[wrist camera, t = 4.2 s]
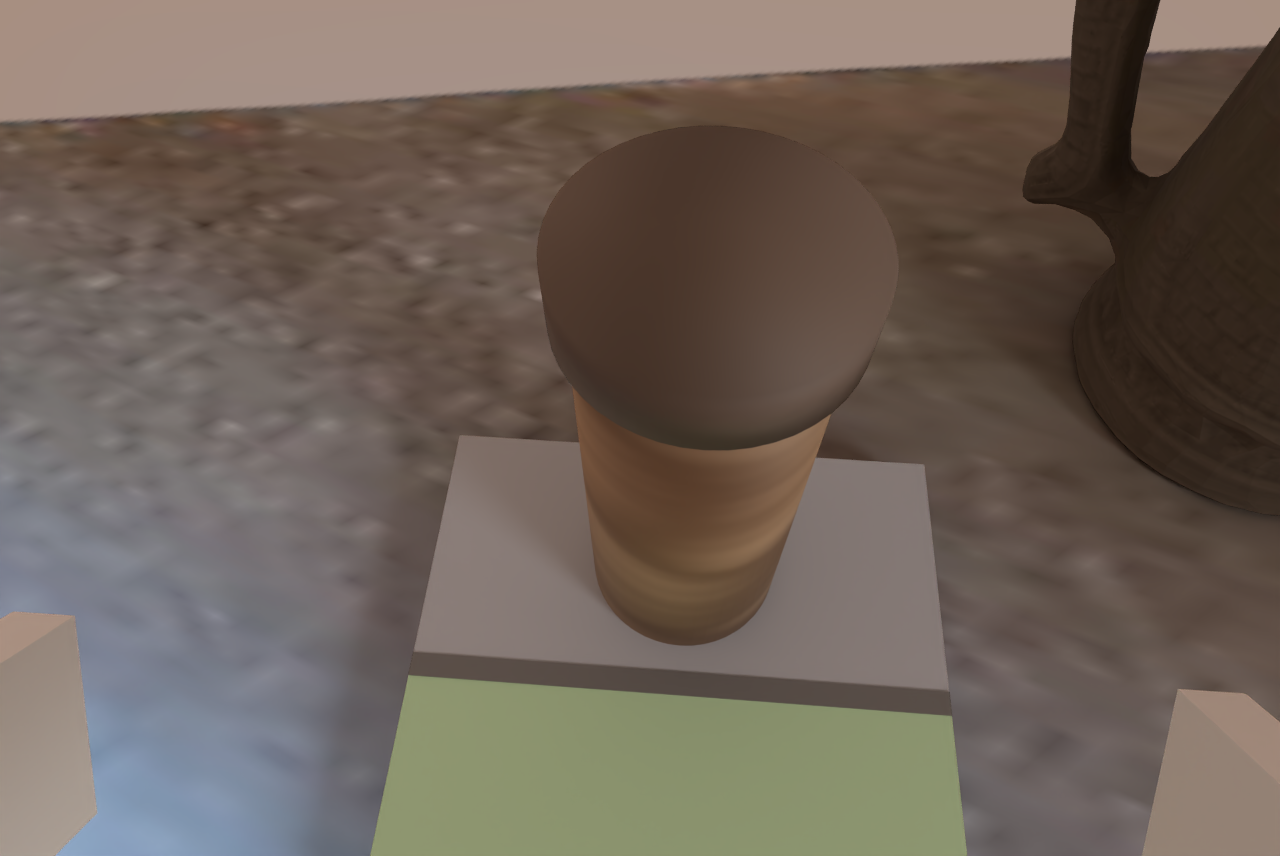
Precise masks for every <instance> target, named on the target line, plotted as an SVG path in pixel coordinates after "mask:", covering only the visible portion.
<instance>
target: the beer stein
mask: <svg viewBox="0 0 1280 856" xmlns="http://www.w3.org/2000/svg"><path fill="white" fill-rule="evenodd" d="M1159 3H1160V0H1076V6H1075V15H1074V23H1073V35H1072V51H1071V78H1070V100H1069V109H1068V118H1067V125H1066V128H1065V131H1064V134H1063V136H1062V138H1061V139H1060V140H1059V141H1058V142H1057V143H1056V144H1054V145H1052V146H1050V147H1048V148H1046V149H1044V150H1042V151H1040V152H1038V153H1037V154H1036V155H1035V156H1034V157H1032V159H1031V161H1030V163H1029V165H1028V167H1027V171H1026V175H1025V180H1024V185H1023V197H1024V198H1025V199H1026V200H1028V201H1029V202H1032V203H1034V204H1057V205H1060V206H1064V207H1067V208H1070V209H1074V210H1076V211H1078V212H1080V213H1082V214H1084V215H1086V216H1088V217H1090V218H1092V219H1093V220H1094V222H1095V223H1096V224H1097V225H1098V226H1099V227H1100V228H1101V230H1102V231H1103V232H1104V233H1105V234H1106V235H1107V236H1108V237H1109V239H1110V242H1111V245H1112V248H1113V251H1114V253H1115V264H1114V265H1112V266H1111V267H1110V268H1109V269H1108V270H1107V271H1106V272H1105V273H1104V274H1103V275H1102V276H1101V277H1100V278H1099V279H1098V280H1097V281H1096V282H1095V283H1094V285H1093V286H1092V287H1091V289H1090V290H1089V292H1088V293H1087V295H1086V296H1085V298H1084V299H1083V301H1082V304H1081V307H1080V310H1079V312H1078V315H1077V318H1076V321H1075V323H1074V333H1073V346H1074V352H1075V358H1076V364H1077V370H1078V375H1079V379H1080V382H1081V385H1082V387H1083V389H1084V390H1085V392H1086V394H1087V396H1088V398H1089V399H1090V401H1091V403H1092V405H1093V407H1094V408H1095V410H1096V411H1097V412H1098V414H1099V415H1100V416H1101V418H1102V419H1103V420H1104V421H1105V423H1106V424H1107V425H1108V427H1109V428H1110V429H1111V430H1112V432H1113V433H1114V434H1115V436H1116V437H1117V438H1118V439H1119V440H1120V441H1121V442H1122V443H1123V444H1124V445H1125V446H1126V447H1128V448H1129V449H1130V450H1131V451H1132V452H1133V453H1134V454H1135V455H1136V456H1137V457H1138V458H1139V459H1141V460H1142V461H1144V462H1145V463H1146V464H1148V465H1149V466H1151V467H1152V468H1153V469H1155V470H1156V471H1158V472H1159V473H1160V474H1162V475H1164V476H1166V477H1168V478H1170V479H1171V480H1173V481H1175V482H1177V483H1179V484H1181V485H1183V486H1185V487H1187V488H1189V489H1191V490H1193V491H1195V492H1197V493H1199V494H1202V495H1204V496H1206V497H1209V498H1211V499H1213V500H1216V501H1218V502H1220V503H1223V504H1226V505H1230V506H1234V507H1238V508H1242V509H1246V510H1249V511H1253V512H1257V513H1261V514H1270V515H1279V516H1280V28H1279V29H1278V31H1277V32H1276V34H1275V35H1274V37H1273V38H1272V39H1271V41H1270V42H1269V44H1268V45H1267V46H1266V48H1265V49H1264V51H1263V52H1262V53H1261V55H1260V56H1259V57H1258V59H1257V60H1256V62H1255V63H1254V64H1253V66H1252V67H1251V68H1250V70H1249V71H1248V72H1247V74H1246V75H1245V76H1244V78H1243V79H1242V80H1241V82H1240V83H1239V84H1238V86H1237V87H1236V88H1235V90H1234V91H1233V92H1232V94H1231V95H1230V97H1229V98H1228V99H1227V101H1226V102H1225V103H1224V105H1223V106H1222V107H1221V109H1220V110H1219V111H1218V113H1217V114H1216V116H1215V117H1214V118H1213V120H1212V121H1211V122H1210V124H1209V125H1208V127H1207V128H1206V129H1205V130H1204V132H1203V133H1202V134H1201V135H1200V136H1199V137H1198V139H1197V140H1196V141H1195V142H1194V143H1193V144H1192V146H1191V147H1190V148H1189V149H1188V150H1187V151H1186V152H1185V154H1184V155H1183V156H1182V157H1181V159H1180V160H1179V162H1178V164H1177V165H1176V166H1175V167H1174V168H1173V169H1172V170H1171V171H1170V172H1168V173H1166V174H1164V175H1162V176H1160V177H1149V176H1147V175H1145V174H1143V173H1142V172H1140V171H1138V169H1137V168H1136V166H1135V164H1134V163H1133V161H1132V159H1131V127H1132V122H1133V117H1134V111H1135V105H1136V99H1137V93H1138V87H1139V82H1140V77H1141V71H1142V66H1143V60H1144V56H1145V54H1146V52H1147V49H1148V47H1149V43H1150V37H1151V32H1152V29H1153V25H1154V22H1155V18H1156V14H1157V10H1158V6H1159Z"/></svg>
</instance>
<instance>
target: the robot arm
mask: <svg viewBox="0 0 1280 856" xmlns="http://www.w3.org/2000/svg"><path fill="white" fill-rule="evenodd" d="M96 814H97V807H96V798H95V790H94V781H93V772H92V763H91V755H90V746H89V737H88V728H87V720H86V711H85V702H84V693H83V685H82V676H81V667H80V659H79V650H78V641H77V632H76V624H75V616H71V615H56V614H40V613H25V612H12V613H10V614H8V615H7V616H5V617H3V618H1V619H0V856H55V855H56V854H57V853H58V852H59V851H60V850H61V849H62V848H63V847H64V846H65V845H66V844H67V843H68V842H69V841H70V840H71V839H72V838H73V837H74V836H75V835H76V834H77V833H78V832H79V831H80V830H81V829H82V828H83V827H84V826H85V825H86V824H87V823H88V822H89V821H90V820H91V819H92V818H93V817H94V816H95V815H96ZM1142 856H1280V722H1279V721H1278V720H1277V719H1275V718H1274V717H1273V716H1272V715H1271V714H1269V713H1268V712H1267V711H1266V710H1265V709H1263V708H1262V707H1261V706H1260V705H1259V704H1257V703H1256V702H1255V701H1254V700H1253V699H1251V698H1250V697H1249V696H1248V695H1247V694H1245V693H1230V692H1215V691H1200V690H1185V689H1178V691H1177V696H1176V700H1175V705H1174V710H1173V714H1172V719H1171V724H1170V728H1169V733H1168V738H1167V742H1166V747H1165V751H1164V756H1163V761H1162V765H1161V770H1160V775H1159V779H1158V784H1157V789H1156V793H1155V798H1154V802H1153V807H1152V812H1151V816H1150V821H1149V826H1148V830H1147V835H1146V840H1145V844H1144V849H1143V853H1142Z"/></svg>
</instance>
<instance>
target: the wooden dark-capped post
mask: <svg viewBox="0 0 1280 856" xmlns="http://www.w3.org/2000/svg"><path fill="white" fill-rule="evenodd" d="M537 265H538V275H539V281H540V288H541V294H542V301H543V307H544V314H545V320H546V327H547V333H548V337H549V341H550V345H551V349H552V351H553V354H554V356H555V358H556V361H557V363H558V365H559V367H560V369H561V370H562V372H563V374H564V375H565V377H566V378H567V380H568V382H569V383H570V384H571V385H572V388H573V396H574V404H575V412H576V420H577V428H578V436H579V444H580V452H581V460H582V468H583V476H584V484H585V492H586V500H587V508H588V516H589V524H590V532H591V540H592V547H593V555H594V563H595V571H596V577H597V581H598V585H599V587H600V590H601V592H602V595H603V596H604V598H605V600H606V602H607V604H608V605H609V606H610V608H611V609H612V610H613V612H614V613H615V614H616V615H617V616H618V617H619V618H620V619H621V620H622V621H623V622H624V623H625V624H626V625H628V626H629V627H630V628H631V629H633V630H634V631H636V632H638V633H640V634H641V635H643V636H645V637H648V638H650V639H652V640H655V641H658V642H662V643H666V644H671V645H679V646H693V645H701V644H706V643H710V642H714V641H717V640H720V639H722V638H725V637H727V636H729V635H730V634H732V633H734V632H736V631H737V630H739V629H740V628H741V627H743V626H744V625H745V624H746V623H747V622H748V621H749V620H750V619H751V618H752V617H753V616H754V615H755V614H756V612H757V611H758V610H759V608H760V607H761V606H762V604H763V602H764V600H765V598H766V596H767V593H768V591H769V588H770V585H771V582H772V580H773V577H774V574H775V571H776V568H777V565H778V563H779V560H780V557H781V554H782V551H783V549H784V546H785V543H786V540H787V537H788V534H789V532H790V529H791V526H792V523H793V520H794V517H795V515H796V512H797V509H798V506H799V503H800V501H801V498H802V495H803V492H804V489H805V486H806V484H807V481H808V478H809V475H810V472H811V469H812V467H813V464H814V461H815V458H816V455H817V453H818V450H819V447H820V444H821V441H822V438H823V436H824V433H825V430H826V427H827V424H828V421H829V419H830V416H831V413H833V412H834V411H835V410H836V409H837V408H838V407H839V406H840V405H841V404H842V403H843V402H844V401H845V400H846V399H847V398H848V397H849V396H850V394H851V393H852V392H853V390H854V389H855V388H856V387H857V385H858V384H859V382H860V380H861V378H862V377H863V375H864V373H865V371H866V369H867V367H868V365H869V362H870V359H871V357H872V354H873V352H874V349H875V346H876V344H877V341H878V339H879V336H880V334H881V331H882V328H883V326H884V323H885V321H886V318H887V316H888V313H889V310H890V308H891V305H892V302H893V299H894V296H895V293H896V288H897V282H898V276H899V266H898V252H897V247H896V242H895V238H894V235H893V232H892V230H891V227H890V224H889V222H888V220H887V218H886V216H885V215H884V213H883V211H882V209H881V207H880V206H879V204H878V203H877V202H876V200H875V199H874V198H873V197H872V195H871V194H870V193H869V191H868V190H867V189H866V188H865V187H864V186H863V185H862V184H861V183H860V182H859V181H858V180H857V179H856V178H855V177H854V176H853V175H851V174H850V173H849V172H848V171H846V170H845V169H844V168H843V167H841V166H840V165H839V164H837V163H836V162H834V161H832V160H831V159H829V158H828V157H826V156H825V155H823V154H821V153H819V152H817V151H815V150H813V149H811V148H809V147H807V146H805V145H803V144H800V143H798V142H795V141H792V140H790V139H787V138H784V137H781V136H777V135H774V134H770V133H767V132H763V131H757V130H752V129H746V128H739V127H728V126H692V127H680V128H674V129H668V130H663V131H658V132H654V133H650V134H647V135H643V136H640V137H637V138H634V139H632V140H629V141H626V142H624V143H621V144H619V145H617V146H615V147H613V148H611V149H609V150H607V151H605V152H603V153H602V154H600V155H599V156H597V157H596V158H594V159H593V160H591V161H590V162H588V163H587V164H586V165H584V166H583V167H582V168H581V169H580V170H579V171H577V172H576V173H575V174H574V175H573V176H572V177H571V178H570V179H569V180H568V181H567V182H566V183H565V185H564V186H563V187H562V188H561V189H560V190H559V192H558V193H557V195H556V196H555V198H554V200H553V201H552V203H551V204H550V206H549V208H548V210H547V213H546V215H545V217H544V219H543V222H542V226H541V229H540V233H539V237H538V246H537Z"/></svg>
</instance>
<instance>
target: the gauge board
mask: <svg viewBox="0 0 1280 856" xmlns="http://www.w3.org/2000/svg"><path fill="white" fill-rule="evenodd" d="M408 675H409V676H408V681H407V685H406V690H405V695H404V699H403V704H402V709H401V713H400V718H399V723H398V727H397V732H396V737H395V742H394V746H393V751H392V756H391V760H390V765H389V770H388V774H387V779H386V784H385V789H384V793H383V798H382V803H381V807H380V812H379V817H378V821H377V826H376V831H375V835H374V840H373V845H372V850H371V854H370V856H967V850H966V841H965V832H964V823H963V814H962V805H961V795H960V786H959V777H958V768H957V759H956V750H955V741H954V732H953V723H952V709H951V700H950V692H949V686H948V677H947V668H946V659H945V650H944V641H943V632H942V623H941V614H940V604H939V595H938V586H937V577H936V568H935V559H934V550H933V541H932V532H931V523H930V513H929V504H928V495H927V486H926V477H925V468H924V465H923V464H908V463H892V462H876V461H860V460H844V459H829V458H815V461H814V464H813V467H812V469H811V472H810V475H809V478H808V481H807V484H806V486H805V489H804V492H803V495H802V498H801V501H800V503H799V506H798V509H797V512H796V515H795V517H794V520H793V523H792V526H791V529H790V532H789V534H788V537H787V540H786V543H785V546H784V549H783V551H782V554H781V557H780V560H779V563H778V565H777V568H776V571H775V574H774V577H773V580H772V582H771V585H770V588H769V591H768V593H767V596H766V598H765V600H764V602H763V604H762V606H761V607H760V608H759V610H758V611H757V612H756V614H755V615H754V616H753V617H752V618H751V619H750V620H749V621H748V622H747V623H746V624H745V625H744V626H743V627H741V628H740V629H739V630H737V631H736V632H734V633H732V634H730V635H729V636H727V637H725V638H722V639H720V640H717V641H714V642H710V643H706V644H701V645H693V646H679V645H671V644H666V643H662V642H658V641H655V640H652V639H650V638H648V637H645V636H643V635H641V634H640V633H638V632H636V631H634V630H633V629H631V628H630V627H629V626H628V625H626V624H625V623H624V622H623V621H622V620H621V619H620V618H619V617H618V616H617V615H616V614H615V613H614V612H613V610H612V609H611V608H610V606H609V605H608V604H607V602H606V600H605V598H604V596H603V595H602V592H601V590H600V587H599V585H598V581H597V577H596V571H595V563H594V555H593V547H592V540H591V532H590V524H589V516H588V508H587V500H586V492H585V484H584V476H583V468H582V460H581V452H580V444H579V443H577V442H561V441H545V440H529V439H514V438H498V437H482V436H466V435H460V437H459V441H458V446H457V451H456V455H455V460H454V465H453V469H452V474H451V479H450V483H449V488H448V493H447V498H446V502H445V507H444V512H443V516H442V521H441V526H440V530H439V535H438V540H437V544H436V549H435V554H434V559H433V563H432V568H431V573H430V577H429V582H428V587H427V591H426V596H425V601H424V605H423V610H422V615H421V620H420V624H419V629H418V634H417V638H416V643H415V648H414V652H413V655H412V660H411V664H410V669H409V674H408Z"/></svg>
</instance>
